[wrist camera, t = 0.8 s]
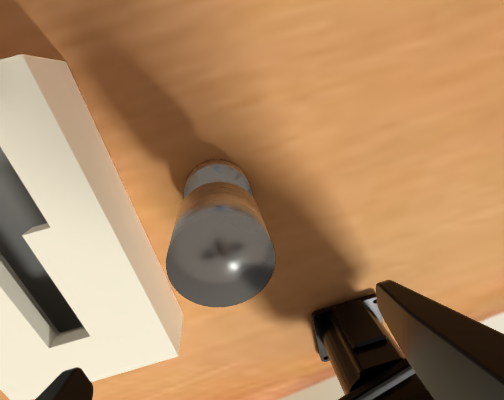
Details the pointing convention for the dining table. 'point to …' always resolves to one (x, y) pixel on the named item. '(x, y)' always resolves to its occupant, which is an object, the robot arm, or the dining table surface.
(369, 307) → the robot arm
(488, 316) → the dining table surface
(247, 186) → the keyhole peg
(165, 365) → the dining table surface
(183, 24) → the dining table surface
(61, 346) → the keyhole board
